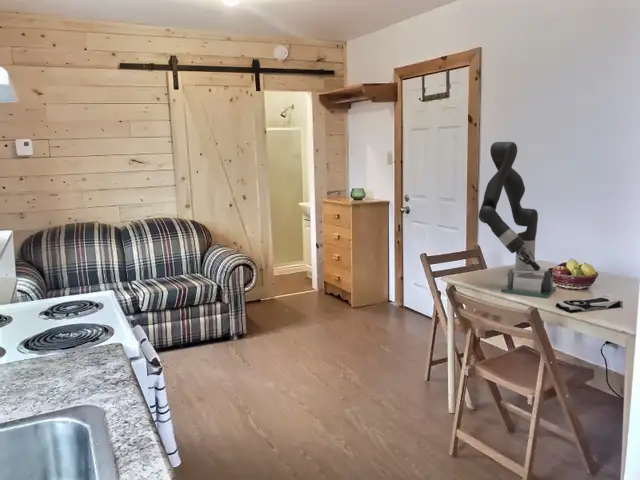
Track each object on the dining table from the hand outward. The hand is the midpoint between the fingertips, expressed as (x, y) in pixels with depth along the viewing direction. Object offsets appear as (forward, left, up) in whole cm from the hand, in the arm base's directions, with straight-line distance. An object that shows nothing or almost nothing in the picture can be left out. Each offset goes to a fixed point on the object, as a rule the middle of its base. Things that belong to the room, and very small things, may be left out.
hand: (538, 269), depth 243 cm
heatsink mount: (0, -4, -10) cm, 11 cm away
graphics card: (+13, +22, -11) cm, 28 cm away
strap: (0, -4, -2) cm, 5 cm away
